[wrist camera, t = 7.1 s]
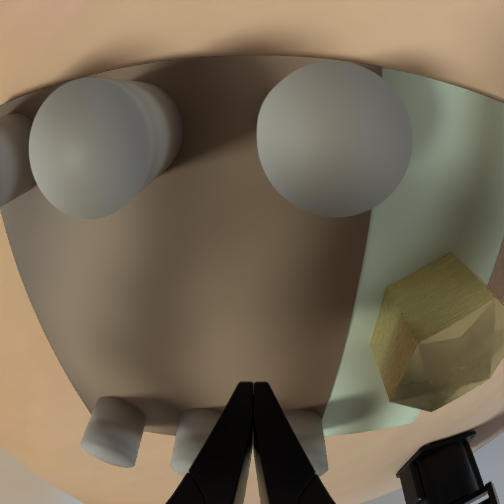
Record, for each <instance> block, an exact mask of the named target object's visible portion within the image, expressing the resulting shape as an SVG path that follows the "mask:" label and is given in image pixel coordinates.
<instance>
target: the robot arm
mask: <svg viewBox="0 0 504 504" xmlns="http://www.w3.org/2000/svg"><path fill="white" fill-rule="evenodd" d="M253 387H254V395H253ZM475 436H476V432H475V431H472V432H469V433H466V434H464V435H461V436H458V437H455V438H452V439H449V440H446V441H442V442H439V443H436V444H432V445H429V446H425V447H423V448H421V449H420V450H419V451H418V452H417V453H416V454H415V455H414V456H413V457H412V458H411V459H410V460H409V461H408V462H407V463H406V464H405V465H404V466H403V468H402V469H401V470H400V471H399V472H398V473H397V474H396V476H397V478H400V480H401V484H402V488H403V492H404V497H405V501H406V504H470V503H472V502H474V501H476V500H478V499H480V498H481V497H483V496H485V495H487V494H488V495H489V498H487V499H486V500H484V501H482V502H480V503H479V504H500V503H499V499H498V496H497V493H496V490H495V487H494V485H493V483H492V482H488V483H487V484H486V485H485V486H484V484H483V481H482V478H481V475H480V472H479V469H478V467H477V464H476V461H475V458H474V456H473V453H472V450H471V448H470V445H469V442H470V441H471V440H472V439H473V438H474V437H475ZM252 447H253V449H254V458H255V465H256V473H257V480H258V487H259V495H260V502H261V504H336V503H335V502H334V500H333V499H332V498H331V496H330V495H329V493H328V491H327V490H326V488H325V487H324V485H323V483H322V482H321V480H320V478H319V476H318V474H315V473H316V471H315V469H314V468H313V466H312V464H311V462H310V460H309V458H308V457H307V455H306V453H305V451H304V449H303V447H302V446H301V444H300V442H299V440H298V438H297V436H296V434H295V433H294V431H293V429H292V427H291V425H290V423H289V421H288V419H287V417H286V416H285V414H284V412H283V410H282V408H281V406H280V404H279V402H278V400H277V398H276V396H275V394H274V392H273V390H272V388H271V387H270V385H269V383H268V382H266V381H256V382H254V384H253V382H251V381H240V382H239V383H238V385H237V386H236V388H235V390H234V392H233V394H232V395H231V397H230V399H229V401H228V403H227V404H226V406H225V408H224V410H223V412H222V413H221V415H220V417H219V419H218V421H217V422H216V424H215V426H214V428H213V429H212V431H211V433H210V434H209V436H208V438H207V440H206V441H205V443H204V445H203V447H202V448H201V450H200V452H199V453H198V455H197V457H196V458H195V460H194V462H193V463H192V465H191V467H190V468H189V470H188V472H189V473H188V472H187V473H186V475H185V476H184V478H183V480H182V481H181V483H180V484H179V486H178V487H177V489H176V490H175V492H174V493H173V495H172V496H171V497H170V499H169V500H168V501H167V502H166V504H243V503H244V497H245V491H246V485H247V479H248V473H249V467H250V461H251V455H252Z"/></svg>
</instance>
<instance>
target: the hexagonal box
mask: <svg viewBox="0 0 504 504" xmlns="http://www.w3.org/2000/svg"><path fill="white" fill-rule="evenodd" d="M369 345H370V348H371V350H372V353H373V356H374V358H375V361H376V364H377V367H378V369H379V372H380V375H381V378H382V381H383V384H384V387H385V389H386V392H387V395H388V398H389V401H390V402H392V403H396V404H400V405H404V406H408V407H412V408H416V409H421V410H425V411H430V412H432V411H434V410H436V409H438V408H440V407H442V406H444V405H446V404H448V403H450V402H451V401H453V400H455V399H457V398H459V397H460V396H462V395H464V394H465V393H467V392H469V391H471V390H472V389H474V388H476V387H477V386H479V385H480V384H482V383H484V382H485V381H487V380H488V379H490V377H491V376H492V374H493V373H494V371H495V370H496V368H497V367H498V365H499V363H500V362H501V360H502V359H503V357H504V304H503V302H502V301H501V300H500V299H499V298H498V297H497V296H496V294H495V293H494V292H493V291H492V290H491V289H490V288H489V287H488V286H487V285H486V283H485V282H484V281H483V280H482V279H481V278H480V277H479V276H477V275H476V274H475V273H474V272H473V271H472V270H471V269H470V268H469V267H468V266H467V265H466V264H465V263H464V262H463V261H462V260H460V259H459V258H458V257H457V256H456V255H455V254H454V253H453V252H452V251H450V252H449V253H447V254H445V255H443V256H442V257H440V258H438V259H436V260H435V261H433V262H431V263H429V264H427V265H426V266H424V267H422V268H420V269H418V270H417V271H415V272H413V273H411V274H409V275H407V276H405V277H404V278H402V279H400V280H398V281H396V282H394V283H392V284H390V285H388V286H386V289H385V293H384V297H383V301H382V304H381V308H380V311H379V315H378V318H377V322H376V325H375V328H374V332H373V335H372V338H371V341H370V344H369Z"/></svg>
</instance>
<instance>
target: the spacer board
mask: <svg viewBox="0 0 504 504" xmlns="http://www.w3.org/2000/svg"><path fill="white" fill-rule="evenodd" d="M0 209H1V214H2V218H3V221H4V225H5V229H6V233H7V236H8V239H9V243H10V246H11V249H12V252H13V256H14V259H15V262H16V265H17V267H18V270H19V273H20V276H21V279H22V281H23V284H24V287H25V289H26V292H27V294H28V297H29V299H30V302H31V304H32V306H33V309H34V311H35V313H36V316H37V318H38V320H39V322H40V324H41V327H42V329H43V331H44V333H45V335H46V337H47V339H48V341H49V343H50V345H51V347H52V349H53V351H54V353H55V355H56V357H57V358H58V360H59V362H60V364H61V366H62V368H63V369H64V371H65V373H66V375H67V376H68V378H69V380H70V382H71V383H72V385H73V387H74V388H75V390H76V391H77V393H78V395H79V396H80V398H81V399H82V401H83V403H84V404H85V406H86V407H87V409H88V410H89V412H90V413H91V417H90V420H89V422H88V425H87V428H86V430H85V433H84V436H83V438H82V441H81V446H82V448H83V449H84V450H85V451H86V452H88V453H89V454H90V455H92V456H93V457H95V458H97V459H99V460H101V461H103V462H106V463H108V464H111V465H115V466H119V467H125V468H129V467H133V466H134V465H135V461H136V457H137V453H138V449H139V446H140V442H141V438H142V434H143V431H145V432H151V433H158V434H165V435H173V436H176V439H175V444H174V449H173V455H172V460H171V468H172V469H173V470H174V471H175V472H177V473H179V474H181V475H183V476H185V475H186V473H187V472H188V470H189V468H190V467H191V465H192V463H193V462H194V460H195V458H196V457H197V455H198V453H199V452H200V450H201V448H202V447H203V445H204V443H205V441H206V440H207V438H208V436H209V434H210V433H211V431H212V429H213V428H214V426H215V424H216V422H217V421H218V419H219V417H220V415H221V413H222V412H223V410H224V408H225V406H226V404H227V403H228V401H229V399H230V397H231V395H232V394H233V392H234V390H235V388H236V386H237V385H238V383H239V382H240V381H251V382H253V384H254V382H256V381H266V382H268V383H269V385H270V387H271V388H272V390H273V392H274V394H275V396H276V398H277V400H278V402H279V404H280V406H281V408H282V410H283V412H284V414H285V416H286V417H287V419H288V421H289V423H290V425H291V427H292V429H293V431H294V433H295V434H296V436H297V438H298V440H299V442H300V444H301V446H302V447H303V449H304V451H305V453H306V455H307V457H308V458H309V460H310V462H311V464H312V466H313V468H314V469H315V471H316V473H315V474H318V476H321V475H323V474H324V473H326V472H327V471H328V462H327V455H326V447H325V440H324V436H335V435H344V434H352V433H360V432H367V431H373V430H379V429H385V428H390V427H396V426H401V425H406V424H410V423H413V422H414V421H415V420H416V418H417V417H418V415H419V414H420V412H421V411H422V410H421V409H416V408H412V407H408V406H404V405H400V404H396V403H392V402H390V401H389V398H388V395H387V392H386V389H385V387H384V384H383V381H382V378H381V375H380V372H379V369H378V367H377V364H376V361H375V358H374V356H373V353H372V350H371V348H370V345H369V344H370V341H371V338H372V335H373V332H374V328H375V325H376V322H377V318H378V315H379V311H380V308H381V304H382V301H383V297H384V293H385V289H386V286H388V285H390V284H392V283H394V282H396V281H398V280H400V279H402V278H404V277H405V276H407V275H409V274H411V273H413V272H415V271H417V270H418V269H420V268H422V267H424V266H426V265H427V264H429V263H431V262H433V261H435V260H436V259H438V258H440V257H442V256H443V255H445V254H447V253H449V252H450V251H452V252H453V253H454V254H455V255H456V256H457V257H458V258H459V259H460V260H462V261H463V262H464V263H465V264H466V265H467V266H468V267H469V268H470V269H471V270H472V271H473V272H474V273H475V274H476V275H477V276H479V277H480V278H481V279H482V280H483V281H484V282H485V283H486V285H488V282H489V280H490V277H491V274H492V271H493V269H494V266H495V263H496V260H497V257H498V254H499V251H500V247H501V244H502V241H503V238H504V103H502V102H499V101H497V100H494V99H492V98H489V97H487V96H484V95H481V94H478V93H476V92H473V91H470V90H467V89H464V88H461V87H458V86H455V85H452V84H448V83H445V82H442V81H438V80H434V79H431V78H427V77H423V76H419V75H415V74H411V73H407V72H402V71H398V70H393V69H388V68H383V67H380V66H374V65H369V64H362V63H356V62H349V61H341V60H333V59H323V58H312V57H298V56H276V55H234V56H212V57H198V58H187V59H177V60H169V61H161V62H154V63H148V64H141V65H135V66H130V67H125V68H120V69H115V70H110V71H105V72H101V73H97V74H93V75H89V76H85V77H81V78H77V79H74V80H70V81H66V82H63V83H60V84H57V85H53V86H50V87H47V88H44V89H41V90H38V91H35V92H33V93H30V94H27V95H24V96H22V97H19V98H16V99H14V100H11V101H9V102H7V103H4V104H2V105H0ZM253 395H254V387H253ZM188 473H189V472H188Z"/></svg>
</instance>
